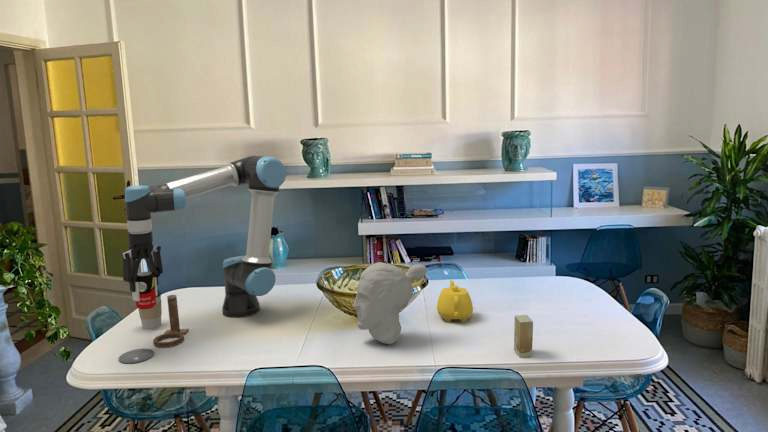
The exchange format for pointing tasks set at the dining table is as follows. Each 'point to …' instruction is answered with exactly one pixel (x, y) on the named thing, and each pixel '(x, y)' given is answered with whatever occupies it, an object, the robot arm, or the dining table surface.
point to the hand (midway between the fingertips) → (145, 297)
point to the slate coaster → (136, 356)
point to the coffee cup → (152, 315)
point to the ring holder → (171, 326)
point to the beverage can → (146, 290)
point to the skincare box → (523, 336)
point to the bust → (384, 298)
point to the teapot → (454, 303)
